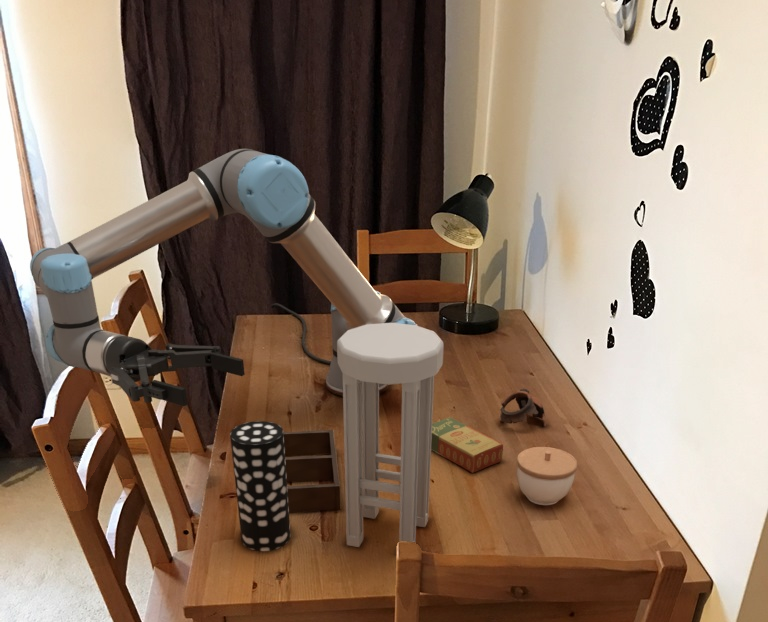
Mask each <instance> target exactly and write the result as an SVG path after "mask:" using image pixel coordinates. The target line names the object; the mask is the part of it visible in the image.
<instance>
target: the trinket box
mask: <svg viewBox="0 0 768 622" xmlns="http://www.w3.org/2000/svg"><path fill="white" fill-rule="evenodd" d="M516 465H517V466H516V480H517V484H518V487H519V489H520V490H521V492H522V494H523V495H524V496H525V497H526V499H527V500H528V502H529V501H530V503H533V504H535V505H538V506H539V505H540V506H552V505H555V504H557V503H558V502H559V501H561V500H563V498H565V497H566V496H567V495H568V493H569V492H570V491H571V489H572V487H573V484H574V481H575V477H576V472H577V468H578V461H577V459H576V458H575V457H574V456H573V455H572V454H571V453H569V452H568V451H565V450H563V449H560V448H555V447H549V446H533V447H530V448H526V449H524V450H522V451H521V452H520V453H518V455H517V458H516Z"/></svg>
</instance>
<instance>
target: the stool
mask: <svg viewBox="0 0 768 622" xmlns="http://www.w3.org/2000/svg"><path fill="white" fill-rule="evenodd" d="M417 325H418V324H417ZM417 325H409V324H400V323H380V324H367V325H364V326H360V327H357V328H354V329H350V330H348V331H347V332H346V333H345V334H344V335H343V336H342V337H341V338H340V339H339V340H338V341H337V359H338V365H339V367H340V369H341V371H342V373H343V396H342V403H343V404H342V405H343V407H342V409H343V410H342V411H343V442H344V443H343V447H344V448H343V449H344V452H343V453H344V487H345V493H344V494H345V530H346V533H345V534H346V535H345V537H346V546H351V547H355V548H360V547H361V544H362V543H363V541H364V518H368V519H373V520H376V518H377V516H378V514H379V513H380V509H379V508H383V509H390V510H393V511H399V533H398V535H399V536H398V543H399V542H400V541H407V542H415V543H417V542H416V540H417V539H416V537H417V527H421V528H426V526H427V524H428V522H429V510H430V509H429V508H430V507H429V506H430V487H431V485H430V484H431V462H432V461H431V460H432V450H431V439H432V424H433V415H434V412H433V411H434V387H435V385H434V384H435V376H437V375H438V373H439V372H440V369H441V368H442V366H443V365H444V347H445V345H444V341H443V340H442V338H440V336H439V335H438V334H437V333H436V332H435V331H434V330H431V329H428V328H425V327H422V326H419V325H418V326H417ZM379 383H380V384H388V385H400V384H401V422H400V423H401V425H400V426H401V427H400V428H401V431H400V456H397V455H391V454H390V455H389V454H382V453H380V394H379ZM380 464H385V465H393V466H398V467H400V471H399V472H398V471H391V470H386V469H380ZM380 479H383V480H387V481H394V482H400V483H399V484H397V483H393V482H392V483H390V482H385V481H380ZM380 492H384V493H391V494H396V495H399V500H396V499H389V498H382V497H380Z"/></svg>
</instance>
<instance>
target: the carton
mask: <svg viewBox="0 0 768 622" xmlns="http://www.w3.org/2000/svg"><path fill="white" fill-rule="evenodd" d="M431 451H433V452H434V453H436V454H438V455H440V456H442V457H443V458H445V459H448V460H449V461H451V462H453V463H454V464H456V465H458V466H460V467H462V468H463V469H465V470H467V471H469V472H471V473H472V474H473V473H475V472H478V471H481V470H483V469H486V468H488V467H490V466H494V465H495V464H498V463H500V462H502V459H503V453H504V452H503V451H504V444H503V442H500V441H499V440H497V439H494V438H492V437H490V436H488V435H486V434H484V433H483V432H480V431H478V430H477V429H475V428H472V427H470V426H469V425H466V424H464V423H462V422H461V421H458V420H457V419H455V418H452V416H449V417H446V418H443V419H441V420H438V421H436V422H435V421H434V422H432V439H431Z"/></svg>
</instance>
